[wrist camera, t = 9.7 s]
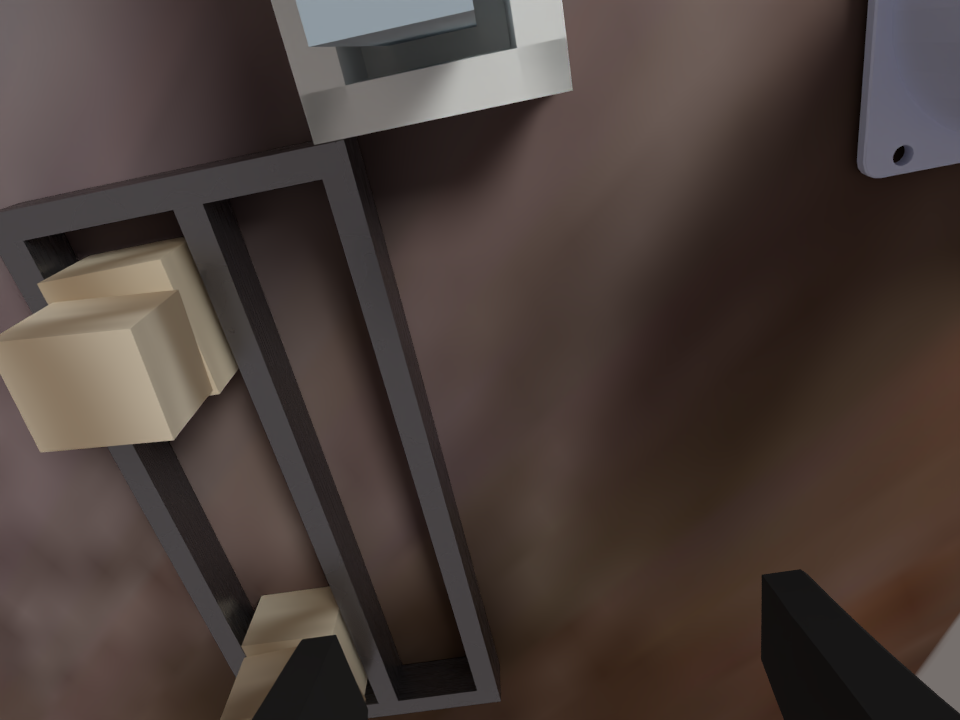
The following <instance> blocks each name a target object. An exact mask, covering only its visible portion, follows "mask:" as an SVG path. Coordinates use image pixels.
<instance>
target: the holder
mask: <svg viewBox="0 0 960 720" xmlns="http://www.w3.org/2000/svg"><path fill="white" fill-rule="evenodd" d="M271 3H272V7H273V10H274V13H275V16H276V20H277V23H278V26H279V30H280V33H281V36H282V40H283V43H284V46H285V50H286V53H287V56H288V60H289V63H290V66H291V70H292V73H293V76H294V80H295V83H296V86H297V90H298V93H299V96H300V99H301V103H302V106H303V109H304V113H305V116H306V119H307V123H308V126H309V129H310V133H311V136H312V139H313V143H314V145H316V144H321V143H326V142H331V141H335V140H340V139H345V138H350V137H354V136H359V135H364V134H368V133H373V132H378V131H383V130H387V129H392V128H397V127H402V126H406V125H411V124H416V123H421V122H425V121H430V120H435V119H440V118H444V117H449V116H454V115H459V114H463V113H468V112H473V111H478V110H482V109H487V108H492V107H497V106H501V105H506V104H511V103H515V102H520V101H525V100H530V99H534V98H539V97H544V96H549V95H553V94H558V93H563V92H568V91H572V90H573V89H572V80H571V72H570V64H569V55H568V47H567V39H566V30H565V22H564V14H563V5H562V0H473V6H474V12H475V18H476V24H477V26H476V27H471V28H467V29H462V30H458V31H453V32H449V33H444V34H440V35H435V36H431V37H426V38H422V39H417V40H413V41H408V42H404V43H400V44H395V45H391V46H346V47H309V46H308V42H307V39H306V35H305V32H304V28H303V25H302V21H301V18H300V14H299V11H298V7H297V4H296V0H271Z"/></svg>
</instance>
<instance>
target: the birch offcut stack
mask: <svg viewBox="0 0 960 720" xmlns="http://www.w3.org/2000/svg"><path fill="white" fill-rule="evenodd" d="M37 285H38V287H39V289H40V291H41V292H42V294H43V296H44V298H45V300H46V302H47V303H48V306H46V307H44V308H43V309H41V310H39V311H38V312H36V313H34V314H33V315H31V316H29V317H28V318H26V319H24V320H23V321H21V322H19V323H18V324H16V325H14V326H13V327H11V328H9V329H8V330H6V331H4V332H3V333H1V334H0V374H1V376H2V378H3V380H4V382H5V384H6V386H7V388H8V390H9V392H10V394H11V396H12V398H13V399H14V401H15V403H16V405H17V407H18V409H19V411H20V413H21V415H22V417H23V419H24V421H25V423H26V425H27V427H28V429H29V431H30V433H31V435H32V437H33V439H34V441H35V443H36V445H37V447H38V449H39V450H40V452H51V451H62V450H73V449H84V448H95V447H106V446H117V445H128V444H139V443H150V442H161V441H172V440H174V439H175V438H176V437H177V436H178V434H179V433H180V432H181V430H182V429H183V428H184V427H185V425H186V424H187V423H188V421H189V420H190V419H191V418H192V416H193V415H194V414H195V412H196V411H197V410H198V409H199V407H200V406H201V405H202V403H203V402H204V401H205V400H206V398H207V397H208V396H211V395H217V394H220V393H221V392H222V390H223V389H224V388H225V386H226V385H227V384H228V382H229V381H230V380H231V378H232V377H233V376H234V374H235V373H236V372H237V370H238V369H239V367H238V365H237V362H236V360H235V357H234V355H233V353H232V350H231V348H230V345H229V343H228V341H227V338H226V336H225V333H224V331H223V329H222V326H221V324H220V321H219V319H218V317H217V314H216V312H215V309H214V307H213V304H212V302H211V300H210V297H209V295H208V292H207V290H206V288H205V285H204V283H203V280H202V278H201V276H200V273H199V271H198V268H197V266H196V264H195V261H194V259H193V256H192V254H191V252H190V249H189V247H188V244H187V242H186V240H185V237H184V236H183V237H178V238H173V239H168V240H163V241H158V242H153V243H148V244H143V245H138V246H133V247H128V248H123V249H119V250H114V251H109V252H104V253H99V254H94V255H89V256H88V257H86V258H84V259H82V260H80V261H78V262H76V263H75V264H73V265H71V266H69V267H67V268H65V269H63V270H62V271H60V272H58V273H56V274H54V275H52V276H50V277H49V278H47V279H45V280H43V281H41V282H39V283H37Z"/></svg>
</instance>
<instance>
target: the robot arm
mask: <svg viewBox="0 0 960 720" xmlns="http://www.w3.org/2000/svg"><path fill="white" fill-rule="evenodd" d="M901 146H904V150H905V152H904V155H903V157H902V158H901V159H900V160H899V161H898V162H895V163H894V162H893V155H894V152H895V151H896V150H897V149H898V148H899V147H901ZM957 163H960V0H868V12H867V26H866V40H865V54H864V68H863V82H862V96H861V110H860V124H859V138H858V152H857V165H858V169H859V170H860V172H861V173H862V174H864V175H866V176H869V177H872V178H884V177H889V176H894V175H899V174H905V173H910V172H915V171H920V170H926V169H931V168H936V167H941V166H947V165H952V164H957ZM761 660H762V662H763V665H764V668H765V671H766V673H767V676H768V679H769V681H770V684H771V687H772V690H773V692H774V695H775V697H776V700H777V703H778V705H779V708H780V710H781V713H782V715H783V718H784V720H960V714H959V713H958V712H957V711H956V710H955V709H954V708H952V707H951V706H950V705H949V704H948V703H946V702H945V701H944V700H943V699H942V698H940V697H939V696H938V695H937V694H936V693H935V692H934V691H932V690H931V689H930V688H929V687H928V686H927V685H926V684H924V683H923V682H922V681H921V680H920V679H919V678H918V677H917V676H915V675H914V674H913V673H912V672H911V671H910V670H909V669H907V668H906V667H905V666H904V665H903V664H902V663H901V662H899V661H898V660H897V659H896V658H895V657H894V656H893V655H892V654H891V653H889V652H888V651H887V650H886V649H885V648H884V647H883V646H882V645H881V644H880V643H878V642H877V641H876V640H875V639H874V638H873V637H872V636H871V635H870V634H869V633H868V632H867V631H866V630H864V629H863V628H862V627H861V626H860V625H859V624H858V623H857V622H856V621H855V620H854V619H853V618H852V617H851V616H850V615H849V614H848V613H846V612H845V611H844V610H843V609H842V608H841V607H840V606H839V605H838V604H837V603H836V602H835V601H834V600H833V599H832V598H831V597H830V596H829V595H828V594H827V593H826V592H825V591H824V590H823V589H822V588H821V587H820V586H819V585H818V584H817V583H816V582H815V581H814V580H813V579H812V578H811V577H810V576H809V575H808V574H806V573H805V572H804V571H802V570H801V569H800V570H793V571H785V572H778V573H771V574H764V575H762V626H761ZM252 720H368V708H367V706H366V703H365V701H364V699H363V696H362V694H361V692H360V689H359V687H358V685H357V682H356V680H355V678H354V675H353V673H352V671H351V668H350V666H349V664H348V661H347V659H346V657H345V654H344V652H343V650H342V647H341V645H340V643H339V641H338V638H337V636H336V635H329V636H322V637H314V638H307V639H302V640H301V642H300V643H299V644H298V646H297V647H296V649H295V650H294V652H293V654H292V655H291V657H290V658H289V660H288V662H287V663H286V665H285V667H284V668H283V670H282V671H281V673H280V675H279V676H278V678H277V680H276V681H275V683H274V684H273V686H272V688H271V689H270V691H269V693H268V694H267V696H266V697H265V699H264V701H263V702H262V704H261V705H260V707H259V709H258V710H257V712H256V713H255V715H254V716H253V718H252Z"/></svg>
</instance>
